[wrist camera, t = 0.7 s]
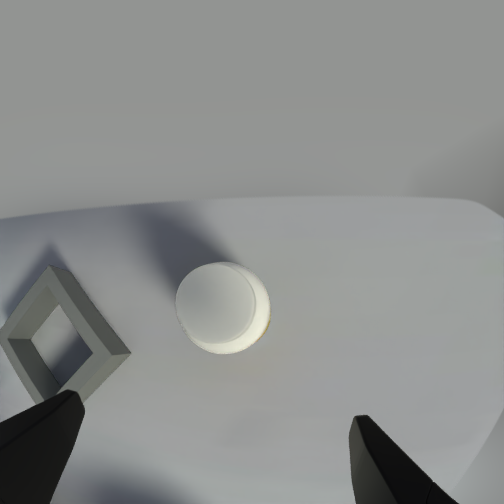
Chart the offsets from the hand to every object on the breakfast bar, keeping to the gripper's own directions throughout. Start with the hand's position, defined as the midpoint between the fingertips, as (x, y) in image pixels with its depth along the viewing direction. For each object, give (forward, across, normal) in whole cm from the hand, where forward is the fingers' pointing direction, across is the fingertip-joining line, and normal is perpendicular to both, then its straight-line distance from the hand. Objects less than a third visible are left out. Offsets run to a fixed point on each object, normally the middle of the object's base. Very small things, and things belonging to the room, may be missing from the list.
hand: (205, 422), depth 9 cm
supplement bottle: (+16, +1, +4) cm, 16 cm away
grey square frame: (+13, +16, +8) cm, 23 cm away
